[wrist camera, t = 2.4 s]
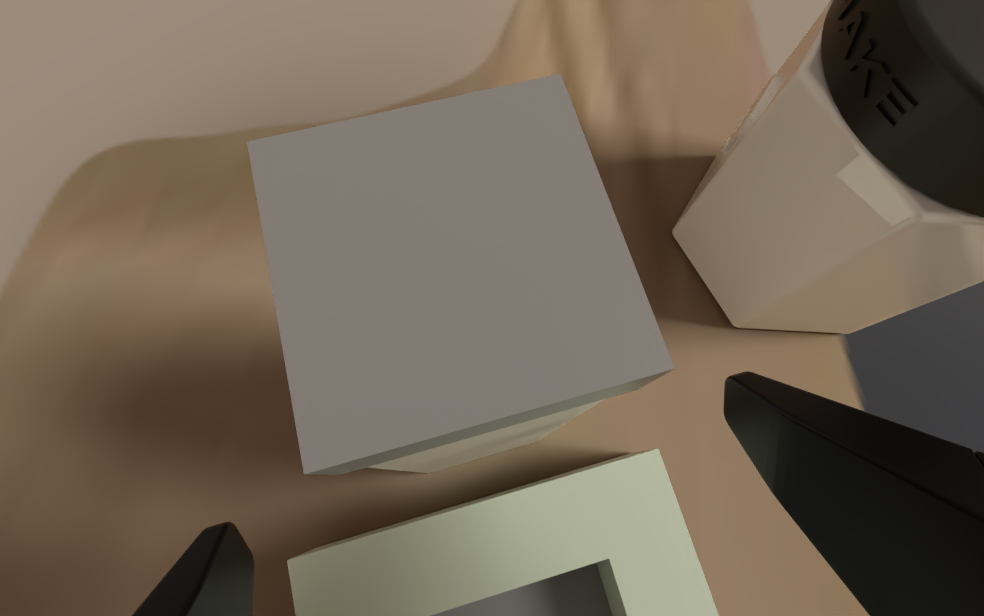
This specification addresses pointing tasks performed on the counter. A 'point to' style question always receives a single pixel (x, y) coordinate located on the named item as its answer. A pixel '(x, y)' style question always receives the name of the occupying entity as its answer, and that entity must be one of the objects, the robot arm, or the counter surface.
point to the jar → (851, 174)
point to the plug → (448, 280)
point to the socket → (522, 554)
